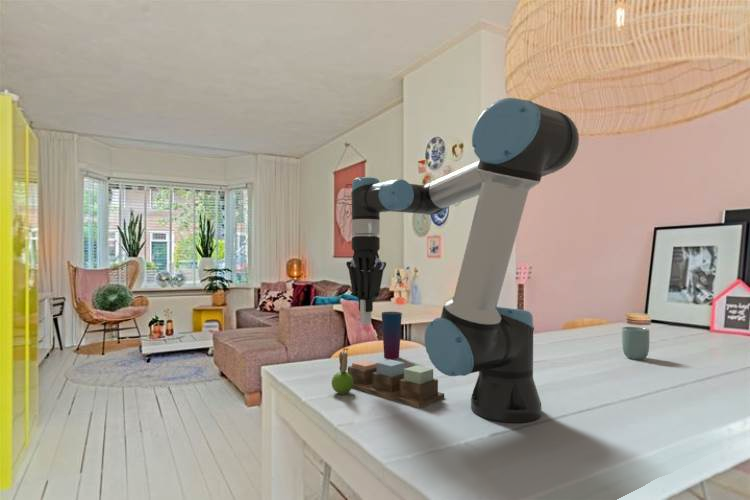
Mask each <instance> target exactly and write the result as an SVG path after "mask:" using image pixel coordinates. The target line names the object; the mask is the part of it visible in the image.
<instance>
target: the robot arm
mask: <svg viewBox="0 0 750 500" xmlns="http://www.w3.org/2000/svg"><path fill="white" fill-rule="evenodd" d="M579 136H580V134H579V130H578V128H577V126H576V123H575V122H574V121H573V120H572V118H570V117H569V116H568V115H567V114H565V113H563V112H560V111H559V110H558V111H557V110H554V109H551V108H548V107H546V106H543V105H541V104H538V103H535V102H533V101H531V100H526V99H520V98H516V97H506V98H502V99H499V100H497V101H495V102H493V103H492V104H491V105H490V106H489V107H487V108H485V109H484V110H483V111H482V112H481V114H480V115H479V116H478V119H477V120H476V122H475V125H474V127H473V130H472V135H471V145H472V147H473V148H474V149H473V151H474V154H475V156H476V157H478V159H479V160H477V161H475V162H473V163H471V164H468V165H466V166H464V167H461V168H459V169H457V170H455V171H453V172H450V173H449V174H447V175H446V174H445V175H444V176H441V177H439V178H437V179H435V180H434V181H431V182H429V183H426V184H423V185H422V184H417V183H416V184H415V183H410V182H408V181H406V180H405V179H394V178H393V179H390V180H387V181H382V182H380V180H379V179H378V178H376V177H371V176H369V177H368V176H366V177H365V176H364V177H356V178H354V179H353V180H352V184H351V186H352V187H351V192H350V193H351V234H352V235H353V237H351V250H352V251H353V255H352V259H351V260H350V261H347V262H346V263H345V264H346V267H347V269H348V272H349V273H348V274H349V278H350V286H351V291H352V296H353V297H355V298H357V299H358V311H359V324H360V325H363V326H365V325H370V324H372V312H373V305H374V303H373V302H374V301H373V300H374V299H376V298H379V297H380V292H381V291H380V290H381V287H382V280H383V274H384V271H385V268H386V267H387V262H385V261H382V260H381V259H380V255H379V251H380V248H381V247H380V241H381V240H380V237H379V235H380V229H381V228H380V226H381V225H380V224H381V223H380V220H381V219H380V218H381V217H380V213H386V212H392V213H393V212H395V213H408V214H409V213H410V214H421V215H428V216H432V215H433V216H434V215H441V214H444V213H445V211H446V210H447V209H448V207H451V206H453V205H455V204H458V203H462V202H463V201H466V200H469V199H472V198H475V197H477V196H478V198H477V202H476V206H475V210H474V214H473V218H472V223H471V225H470V231H469V233H468V238H467V242H466V245H465V249H464V255H463V258H462V262H461V266H460V271H459V275H458V279H457V283H456V286H455V290H454V294H453V296H452V297H451V298H449V299H447V300H445V301H444V303H443V307H442V310H441V311H442V312H441V316H440V317H436V318H435V319H433V320H432V321H430V322H428V324H427V326H426V329H425V332H424V347H425V351H426V353H427V354H428V359H429V360H430V362H431V364H432V365H433V366H434V367H435V368H436V369H437V370H438V371H439V372H440V373H442V374H443V375H445V376H448V377H458V376H459V377H460V376H462V377H465V376H467V375H470V374H473V373H477V372H478V375H477V379H476V381H475V384H474V385H475V386H474V388H473V390H472V393H471V397H470V409H471V410H472V412H473V413H475V414H476V415H478V416H480V417H483V418H485V419H488V420H492V421H495V422H496V421H498V422H504V423H528V422H532V421H533V422H534V421H536V420H538V419H540V417H541V416H542V414H543V413H542V409H543V408H542V401H541V399H540V396H539V393H538V389H537V387H536V383H535V380H534V330H535V327H534V320H533V315H532V312H530V311H529V310H525V309H520V308H510V307H501V306H498V303H499V299H500V295H501V292H502V288H503V285H504V282H505V278H506V273H507V271H508V267H509V263H510V259H511V256H512V252H513V248H514V245H515V241H516V237H517V234H518V231H519V227H520V223H521V220H522V216H523V212H524V208H525V206H526V202H527V198H528V195H529V191H531V189H532V188H535V186H537V185H539V184H540V183H541V181H542V177H545V176H548V175H550V174H553V173H556V172H558V171H560V170H562V169H563V168H565V167H566V166H567V165H569V164H570V162H571V161H572V160H573V159H574V157H575V155H576V153H577V151H578V148H579V142H580V137H579Z"/></svg>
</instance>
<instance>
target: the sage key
mask: <svg viewBox="0 0 750 500" xmlns="http://www.w3.org/2000/svg"><path fill="white" fill-rule="evenodd" d="M433 379H434V368H432V367H431V368H430V367H428V366H427V367H426V366H423V365H422V366H421V365H418V364H417V365H413V366H410V367H405V368H404V380H405V381H409V382H413V383H417V384H420V385H421V384H424V383H427V382H430V381H433Z"/></svg>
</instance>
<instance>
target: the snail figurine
mask: <svg viewBox="0 0 750 500" xmlns="http://www.w3.org/2000/svg"><path fill="white" fill-rule="evenodd" d="M348 350H349V348H348V347H346V348H343V349H342V351H340V352H339V353H338V354H339V355H338V358H339V361H338V362H339V372H336V373H335V374H334V375H333V376H332V378H331V387H332V389H333V390H334V391H335V393H337V394H339V395H345V394H347V393H349V392H350V391H351V390H352V389H353V388H352V387H353V378H352V376H351V375H350V374H349V373H348V355H349V354H348V352H347V351H348ZM345 351H346V352H345Z"/></svg>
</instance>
